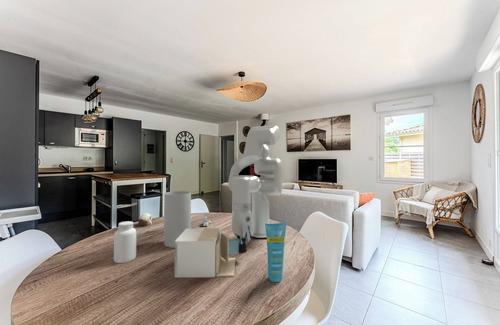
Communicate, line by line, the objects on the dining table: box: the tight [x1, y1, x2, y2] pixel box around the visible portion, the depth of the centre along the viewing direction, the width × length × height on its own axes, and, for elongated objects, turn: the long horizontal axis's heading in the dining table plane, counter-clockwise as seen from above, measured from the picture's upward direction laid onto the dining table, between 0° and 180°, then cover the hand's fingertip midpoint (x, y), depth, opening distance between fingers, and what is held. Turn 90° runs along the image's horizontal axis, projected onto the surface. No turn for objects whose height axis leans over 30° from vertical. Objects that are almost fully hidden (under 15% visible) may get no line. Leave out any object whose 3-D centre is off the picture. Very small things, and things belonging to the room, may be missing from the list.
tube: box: [265, 222, 287, 283], centre depth 72 cm, size 7×5×19 cm, turn 103°
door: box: [220, 232, 240, 262], centre depth 85 cm, size 8×7×10 cm
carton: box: [174, 227, 236, 278], centre depth 79 cm, size 20×14×13 cm
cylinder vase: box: [163, 190, 192, 249], centre depth 103 cm, size 12×12×25 cm
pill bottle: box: [113, 220, 137, 264], centre depth 85 cm, size 8×8×15 cm
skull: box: [134, 212, 153, 227], centre depth 131 cm, size 12×10×10 cm
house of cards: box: [201, 213, 211, 227], centre depth 133 cm, size 9×9×8 cm
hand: (241, 251), depth 85 cm, fingers closed
